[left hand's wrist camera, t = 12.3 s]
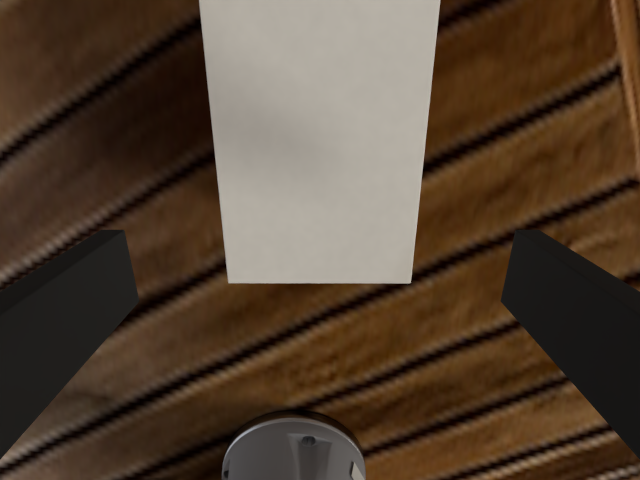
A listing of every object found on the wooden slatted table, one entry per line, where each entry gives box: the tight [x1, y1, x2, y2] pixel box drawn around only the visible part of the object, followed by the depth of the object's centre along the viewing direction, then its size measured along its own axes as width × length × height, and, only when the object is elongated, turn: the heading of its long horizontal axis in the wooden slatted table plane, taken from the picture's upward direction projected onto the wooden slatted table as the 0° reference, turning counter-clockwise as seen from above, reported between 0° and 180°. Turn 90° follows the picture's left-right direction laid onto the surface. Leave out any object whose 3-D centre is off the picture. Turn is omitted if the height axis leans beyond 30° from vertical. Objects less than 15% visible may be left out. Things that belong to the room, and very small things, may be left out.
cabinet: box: [199, 0, 440, 283], centre depth 21 cm, size 18×10×11 cm, turn 0°
